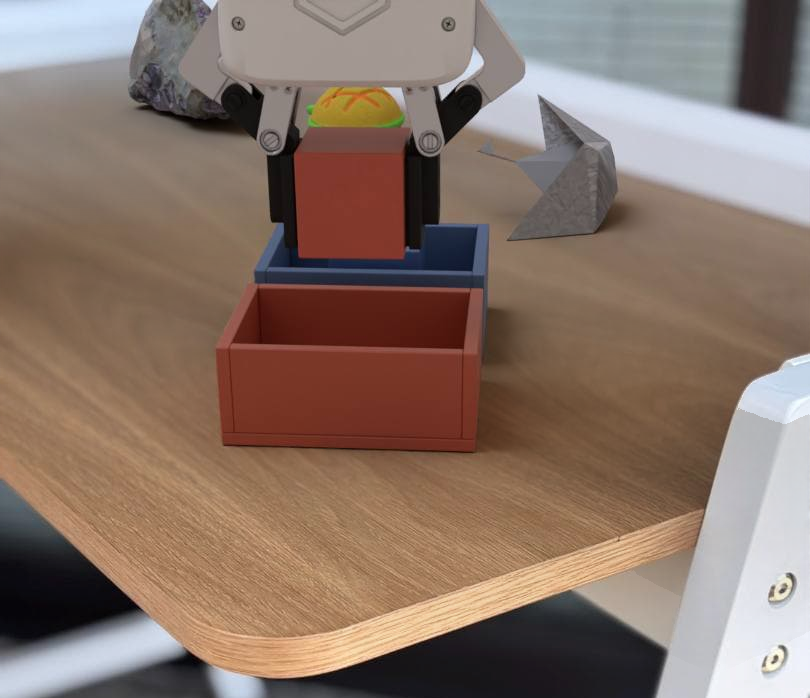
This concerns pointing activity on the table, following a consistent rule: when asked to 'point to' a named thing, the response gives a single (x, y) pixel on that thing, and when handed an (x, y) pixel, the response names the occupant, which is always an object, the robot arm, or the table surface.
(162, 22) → the mineral rock
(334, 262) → the blue block
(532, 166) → the grey faceted pointed figurine
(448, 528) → the table surface
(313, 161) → the terracotta block
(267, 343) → the terracotta bin
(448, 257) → the blue bin
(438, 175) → the robot arm
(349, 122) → the yellow round piece
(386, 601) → the table surface
